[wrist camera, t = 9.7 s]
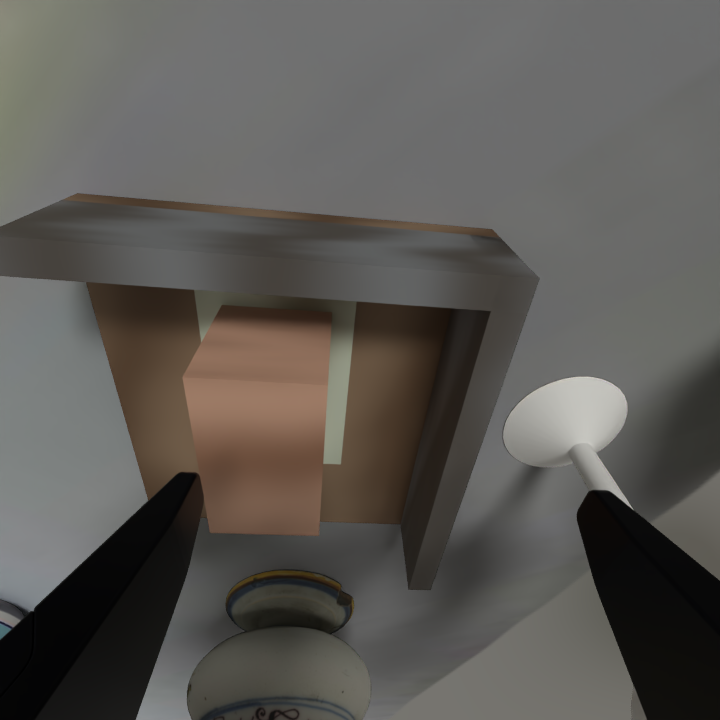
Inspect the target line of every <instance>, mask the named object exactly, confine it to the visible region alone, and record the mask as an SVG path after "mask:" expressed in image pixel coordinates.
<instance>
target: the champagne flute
mask: <svg viewBox="0 0 720 720" xmlns="http://www.w3.org/2000/svg"><path fill="white" fill-rule="evenodd" d="M626 416H627V402H626V399H625V396H624V394H623V393H622V392H621V391H620V389H619V388H618V387H616V386H615V385H613V384H612V383H610V382H608V381H605V380H603V379H599V378H594V377H573V378H566V379H562V380H558V381H555V382H552V383H549V384H547V385H545V386H543V387H540V388H538V389H537V390H535V391H534V392H532V393H530V394H529V395H527V396H526V397H525V398H524V399H523V400H522V401H520V402H519V403H518V404H517V405H516V407H515V408H514V409H513V410H512V411H511V413H510V415H509V416H508V418H507V420H506V423H505V426H504V429H503V440H504V444H505V447H506V448H507V450H508V452H509V453H510V454H511V455H512V456H513V457H514V458H515V459H517V460H519V461H520V462H522V463H525V464H528V465H531V466H537V467H559V466H565V465H569V464H573V463H574V465H575V467H576V468H577V470H578V472H579V474H580V475H581V477H582V479H583V480H584V482H585V484H586V485H587V487H588V489H589V490H590V491H591V490H608V491H610V492H612V493H613V494H615V495H616V496H617V497H618V498H619V499H621V500H622V501H623V502H624V503H626V504H627V505H628V506H629V507H630V508H632V507H631V505H630V504H629V502H628V501H627V499H626V498H625V496H624V495H623V493H622V492H621V490H620V489H619V487H618V486H617V484H616V483H615V481H614V480H613V478H612V476H611V475H610V473H609V472H608V470H607V469H606V467H605V466H604V464H603V463H602V461H601V460H600V458H599V457H598V455H597V454H596V453H597V452H599V451H600V450H602V449H603V448H604V447H606V446H607V445H608V444H609V443H610V442H611V441H612V440H613V439H614V438H615V437H616V436H617V434H618V433H619V432H620V431H621V429H622V427H623V425H624V423H625V420H626ZM632 509H633V508H632ZM631 713H632V720H647V719H646V716H645V713H644V711H643V708H642V706H641V703H640V701H639V698H638V695H637V693H636V690H635V688H634V685H633V693H632V701H631Z"/></svg>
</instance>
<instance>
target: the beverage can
mask: <svg viewBox="0 0 720 720" xmlns="http://www.w3.org/2000/svg"><path fill="white" fill-rule="evenodd" d="M23 618H24V616H23V614H22V612H21V611H20V610H19V609H18V608H17V607H15V606H14V605H12V604H10V603H8V602H5V601H3V600H0V639H1V638H2V637H3V636H5V635H6V634H7V633H8V632H9V631H10V630H11V629H12V628H13V627H14V626H15V625H16V624H18V623H19V622H20V621H21V620H22V619H23Z"/></svg>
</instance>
